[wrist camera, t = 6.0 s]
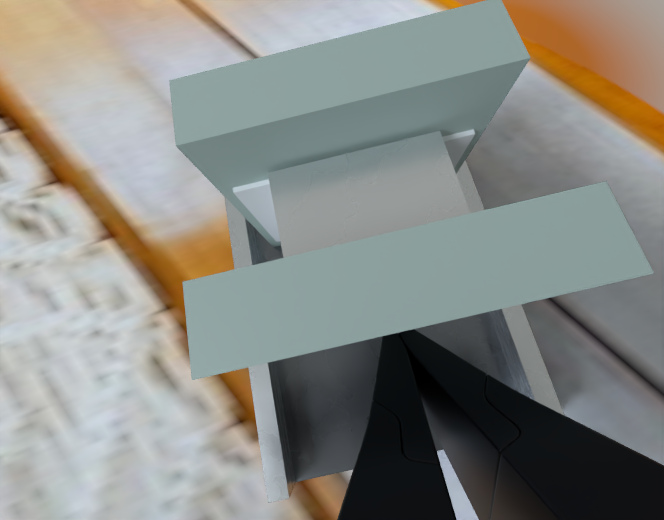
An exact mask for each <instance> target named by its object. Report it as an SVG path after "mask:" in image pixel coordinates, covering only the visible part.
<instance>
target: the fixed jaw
mask: <svg viewBox="0 0 664 520" xmlns="http://www.w3.org/2000/svg"><path fill="white" fill-rule="evenodd" d="M529 59H530V56H529V54H528V52H527V50H526V48H525V46H524V44H523V42H522V40H521V38H520V36H519V34H518V32H517V30H516V28H515V26H514V24H513V22H512V20H511V18H510V16H509V14H508V12H507V10H506V9H505V6H504V5H503V2H502V1H501V0H486V1H482V2H478V3H474V4H470V5H466V6H462V7H458V8H454V9H450V10H446V11H442V12H438V13H434V14H431V15H427V16H423V17H419V18H415V19H411V20H407V21H403V22H399V23H395V24H391V25H387V26H383V27H379V28H375V29H371V30H367V31H363V32H359V33H355V34H352V35H348V36H344V37H340V38H336V39H332V40H328V41H324V42H320V43H316V44H312V45H308V46H304V47H300V48H296V49H292V50H288V51H284V52H280V53H276V54H272V55H269V56H265V57H261V58H257V59H253V60H249V61H245V62H241V63H237V64H233V65H229V66H225V67H221V68H217V69H213V70H209V71H205V72H201V73H197V74H193V75H190V76H186V77H182V78H178V79H174V80H170V81H169V82H170V92H171V102H172V112H173V122H174V132H175V142H176V146H177V147H178V149H179V150H180V151H181V152H182V153H183V154H184V155H185V156H186V157H187V158H188V159H189V160H190V161H191V162H192V163H193V164H194V165H195V166H196V167H197V168H198V169H199V170H200V171H201V172H202V173H203V174H204V176H205V177H206V178H207V179H208V180H209V181H210V182H211V183H212V184H213V185H214V186H215V187H216V188H217V189H218V190H219V191H220V192H221V193H222V194H223V195H224V196H225V197H226V198H227V199H228V200H229V201H230V203H231V204H232V205H233V206H234V207H235V208H236V209H237V210H238V211H239V212H240V213H241V214H242V215H243V216H244V217H245V218H246V219H247V220H248V221H249V222H250V223H251V224H252V225H253V226H254V227H255V228H256V230H257V231H258V232H259V233H260V234H261V235H262V236H263V237H264V238H265V239H266V240H267V241H268V242H269V243H270V244H271V245H272V246H273V247H276V246H280V245H281V242H280V237H279V231H278V226H277V221H276V215H275V210H274V205H273V199H272V194H271V189H270V184H269V178H268V173H269V172H273V171H277V170H281V169H285V168H289V167H293V166H297V165H301V164H305V163H310V162H314V161H318V160H322V159H326V158H330V157H334V156H338V155H342V154H346V153H350V152H355V151H359V150H363V149H367V148H371V147H375V146H379V145H383V144H387V143H391V142H395V141H400V140H404V139H408V138H412V137H416V136H420V135H424V134H428V133H432V132H436V131H440V132H441V135H442V138H443V140H444V143H445V146H446V149H447V151H448V154H449V157H450V159H451V162H452V165H453V167H454V170H455V173H456V174H457V172H458V171H459V169H460V167H461V166H462V164H463V163H464V161H465V160H466V158H467V156H468V155H469V153H470V152H471V150H472V149H473V147H474V145H475V144H476V142H477V141H478V139H479V138H480V136H481V135H482V133H483V131H484V130H485V128H486V127H487V125H488V124H489V122H490V120H491V119H492V117H493V116H494V114H495V113H496V111H497V109H498V108H499V106H500V105H501V103H502V102H503V100H504V99H505V97H506V95H507V94H508V92H509V91H510V89H511V88H512V86H513V84H514V83H515V81H516V80H517V78H518V77H519V75H520V73H521V72H522V70H523V69H524V67H525V66H526V64H527V62H528V61H529Z"/></svg>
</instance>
